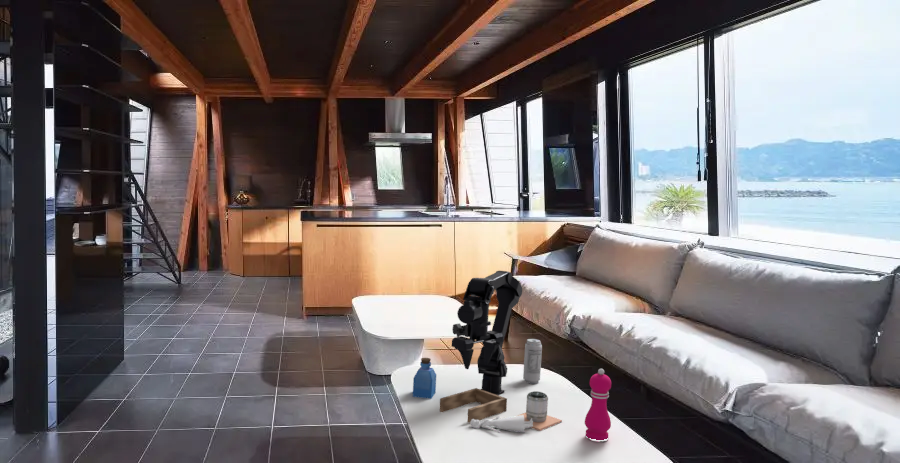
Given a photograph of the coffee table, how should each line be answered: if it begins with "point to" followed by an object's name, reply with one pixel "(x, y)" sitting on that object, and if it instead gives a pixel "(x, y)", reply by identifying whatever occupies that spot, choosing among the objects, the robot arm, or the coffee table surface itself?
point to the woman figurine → (504, 423)
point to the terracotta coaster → (543, 425)
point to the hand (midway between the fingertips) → (476, 366)
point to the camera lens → (536, 406)
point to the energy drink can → (532, 361)
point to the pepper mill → (598, 407)
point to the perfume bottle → (424, 380)
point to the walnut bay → (488, 400)
